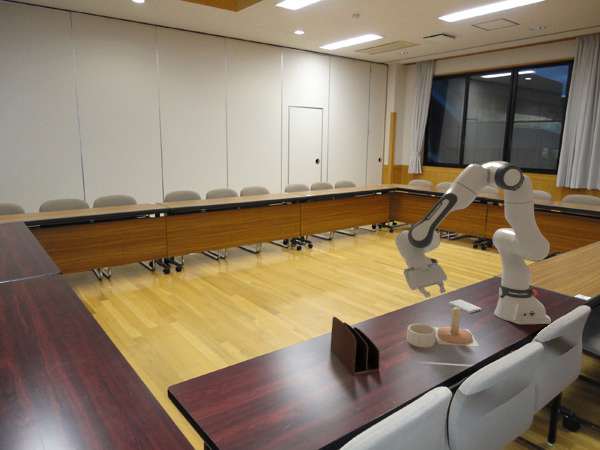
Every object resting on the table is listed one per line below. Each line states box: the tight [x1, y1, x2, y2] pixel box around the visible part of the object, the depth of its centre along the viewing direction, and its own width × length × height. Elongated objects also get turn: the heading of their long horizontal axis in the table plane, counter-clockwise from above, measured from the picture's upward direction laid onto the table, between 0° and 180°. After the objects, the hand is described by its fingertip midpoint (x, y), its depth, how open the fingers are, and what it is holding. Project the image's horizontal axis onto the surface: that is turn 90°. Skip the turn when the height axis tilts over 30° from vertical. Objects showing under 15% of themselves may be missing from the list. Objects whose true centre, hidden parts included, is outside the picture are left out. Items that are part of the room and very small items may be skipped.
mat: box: [432, 326, 480, 347], centre depth 167 cm, size 15×15×1 cm
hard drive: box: [448, 299, 483, 314], centre depth 199 cm, size 2×8×12 cm
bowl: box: [406, 323, 436, 348], centre depth 162 cm, size 10×10×6 cm
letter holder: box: [330, 316, 381, 377], centre depth 148 cm, size 10×20×14 cm, turn 18°
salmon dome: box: [437, 307, 473, 344], centre depth 166 cm, size 13×13×12 cm
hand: (436, 294), depth 173 cm, fingers open, 8 cm apart
